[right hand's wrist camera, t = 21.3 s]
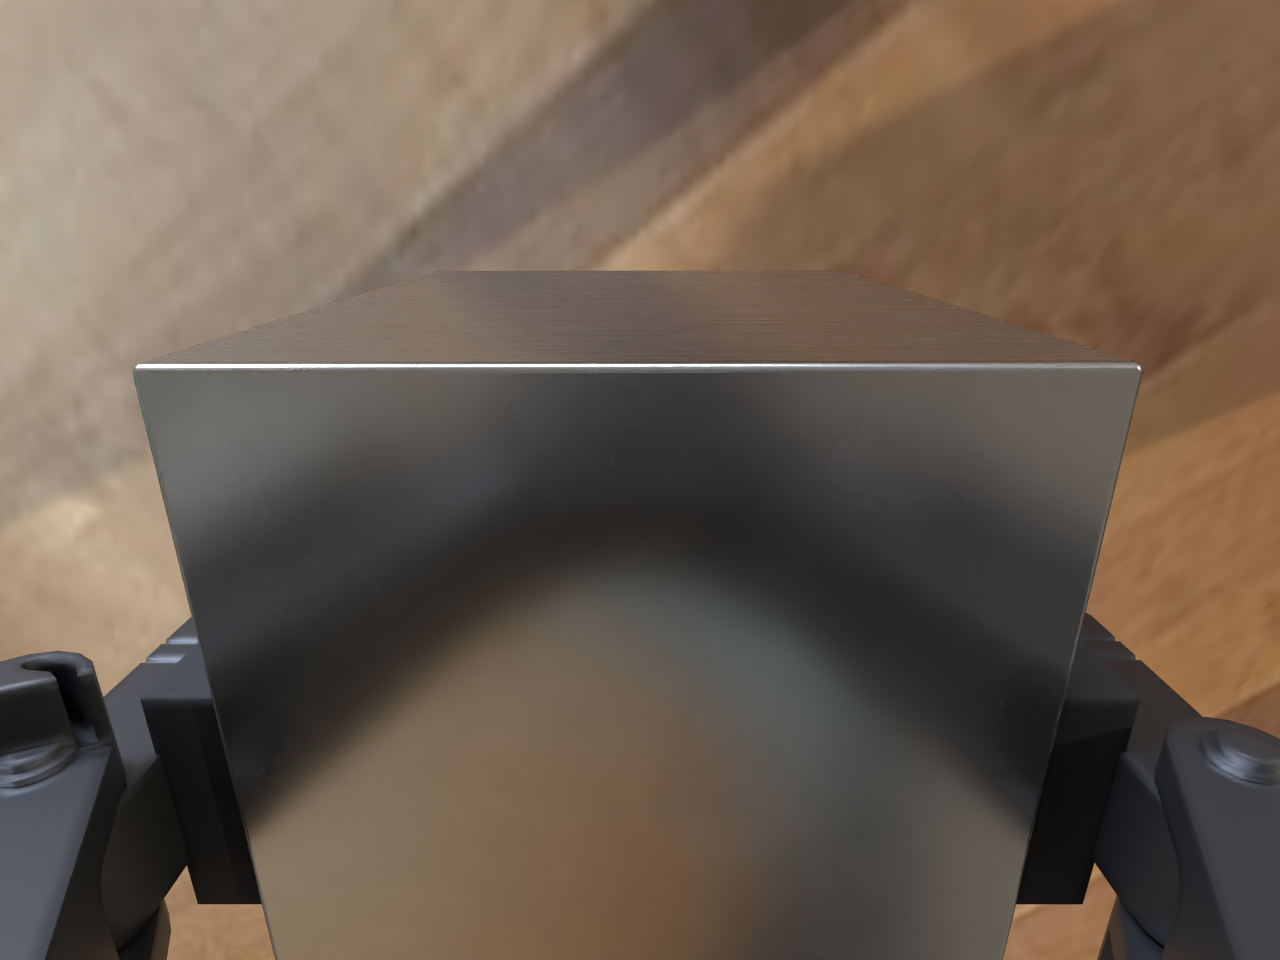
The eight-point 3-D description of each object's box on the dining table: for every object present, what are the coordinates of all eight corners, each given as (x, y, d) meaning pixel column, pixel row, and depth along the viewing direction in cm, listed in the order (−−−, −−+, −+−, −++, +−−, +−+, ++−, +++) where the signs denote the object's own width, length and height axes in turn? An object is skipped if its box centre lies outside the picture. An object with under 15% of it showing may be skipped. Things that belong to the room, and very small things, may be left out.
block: (470, 661, 18) (306, 1100, 9) (433, 270, 15) (125, 364, 6) (808, 661, 18) (972, 1100, 9) (844, 270, 15) (1149, 361, 6)
